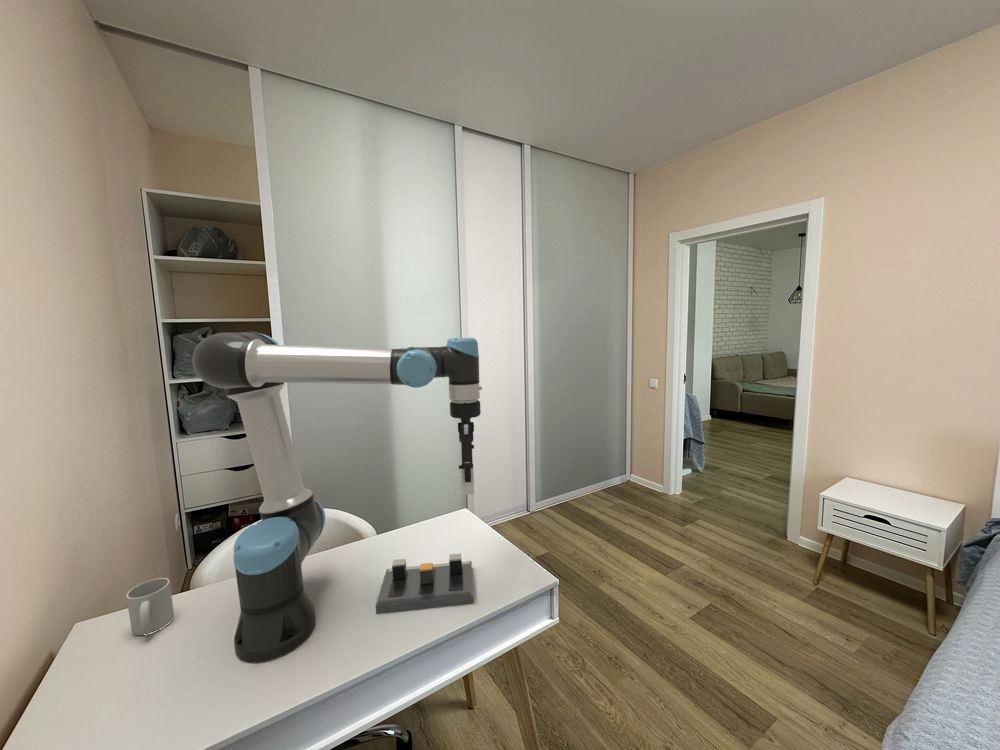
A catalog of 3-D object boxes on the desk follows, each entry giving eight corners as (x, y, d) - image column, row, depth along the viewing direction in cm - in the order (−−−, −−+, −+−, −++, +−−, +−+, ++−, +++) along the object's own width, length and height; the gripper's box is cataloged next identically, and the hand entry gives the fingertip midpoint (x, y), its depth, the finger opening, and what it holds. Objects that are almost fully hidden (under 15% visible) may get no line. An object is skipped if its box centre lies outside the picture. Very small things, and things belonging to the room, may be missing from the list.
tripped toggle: (420, 584, 96) (419, 569, 96) (421, 577, 99) (420, 563, 98) (433, 582, 97) (432, 568, 96) (433, 576, 99) (432, 562, 99)
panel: (376, 614, 90) (374, 589, 89) (387, 576, 104) (385, 554, 103) (473, 603, 92) (472, 579, 92) (471, 568, 106) (470, 546, 105)
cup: (177, 609, 95) (172, 574, 94) (169, 636, 86) (163, 597, 85) (136, 621, 91) (131, 585, 90) (124, 651, 82) (118, 610, 81)
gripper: (482, 409, 87) (485, 503, 89) (478, 392, 111) (480, 465, 114) (447, 411, 86) (451, 505, 88) (451, 393, 111) (454, 467, 113)
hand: (468, 483), depth 101 cm, fingers open, 13 cm apart
